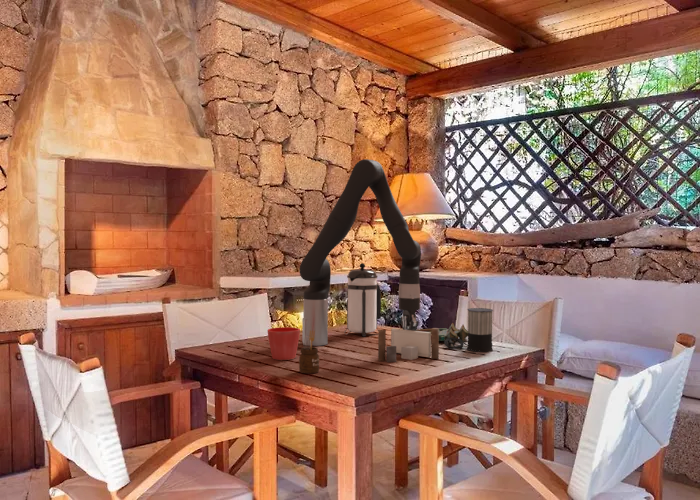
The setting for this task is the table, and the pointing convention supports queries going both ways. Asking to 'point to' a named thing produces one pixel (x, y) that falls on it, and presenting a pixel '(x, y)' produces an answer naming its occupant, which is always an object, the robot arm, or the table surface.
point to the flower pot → (283, 342)
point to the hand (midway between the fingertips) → (409, 345)
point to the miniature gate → (449, 332)
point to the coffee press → (363, 301)
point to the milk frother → (476, 331)
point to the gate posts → (390, 351)
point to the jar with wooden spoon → (309, 358)
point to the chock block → (409, 352)
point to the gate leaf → (412, 340)
